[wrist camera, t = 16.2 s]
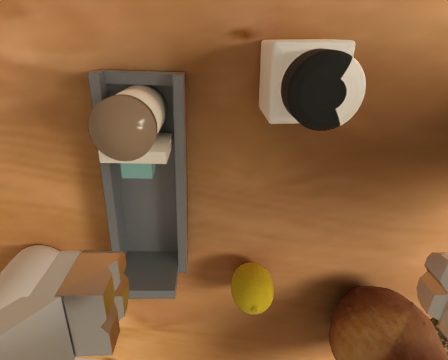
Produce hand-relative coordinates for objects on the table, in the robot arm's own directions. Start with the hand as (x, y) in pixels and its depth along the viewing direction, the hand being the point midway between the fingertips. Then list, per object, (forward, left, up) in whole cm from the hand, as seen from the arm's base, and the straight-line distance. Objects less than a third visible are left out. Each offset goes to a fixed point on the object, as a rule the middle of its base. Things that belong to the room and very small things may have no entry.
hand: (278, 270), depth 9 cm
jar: (+9, +2, -28) cm, 29 cm away
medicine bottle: (-7, -2, -29) cm, 30 cm away
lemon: (-4, +24, -29) cm, 38 cm away
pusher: (+9, +6, -28) cm, 30 cm away
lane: (+9, +10, -29) cm, 32 cm away
